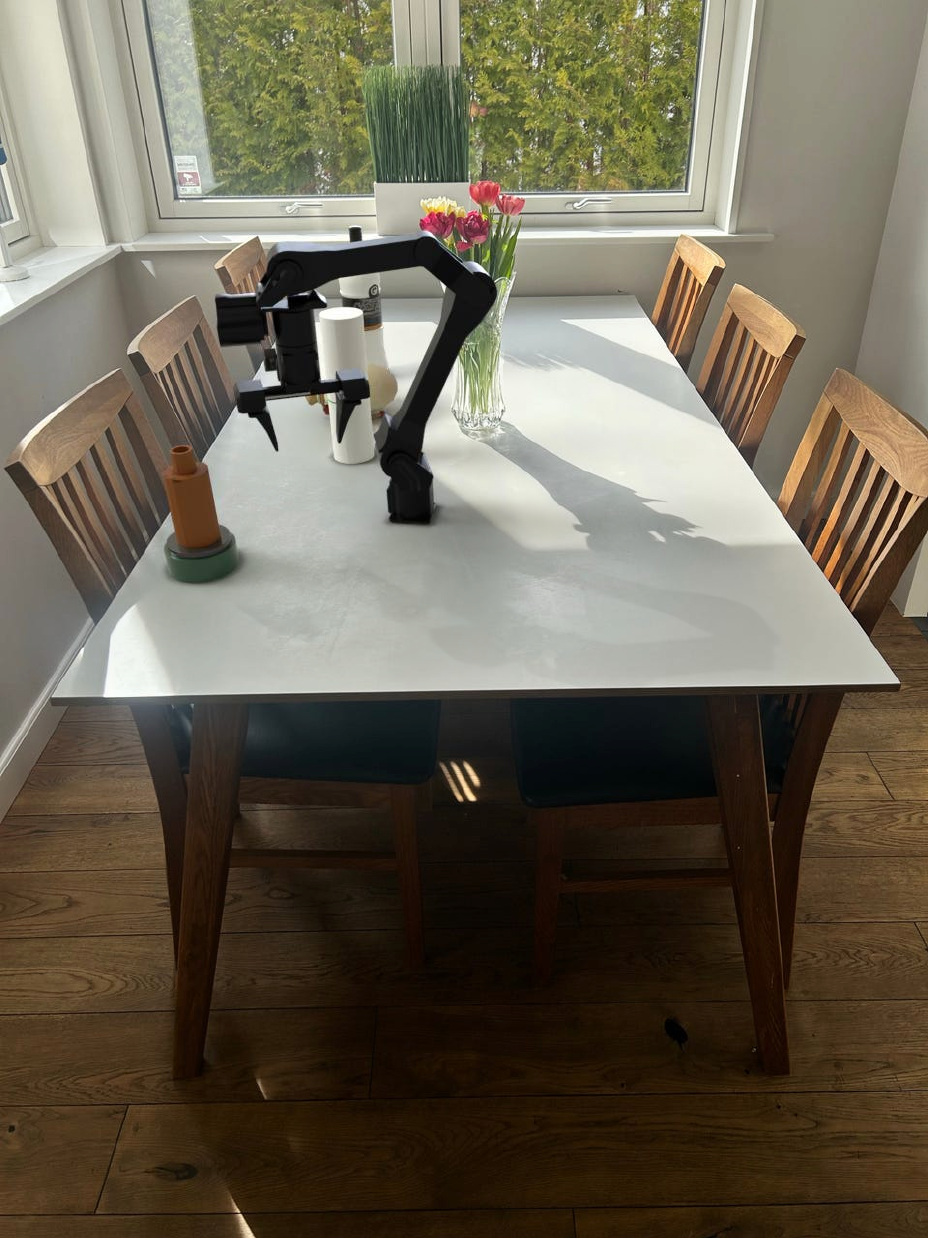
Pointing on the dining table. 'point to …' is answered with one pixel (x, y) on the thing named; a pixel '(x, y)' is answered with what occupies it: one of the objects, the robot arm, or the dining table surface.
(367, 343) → the vodka
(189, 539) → the amber bottle
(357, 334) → the cylindrical container
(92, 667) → the dining table surface
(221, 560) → the green jar
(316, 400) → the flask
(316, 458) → the dining table surface
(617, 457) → the dining table surface
